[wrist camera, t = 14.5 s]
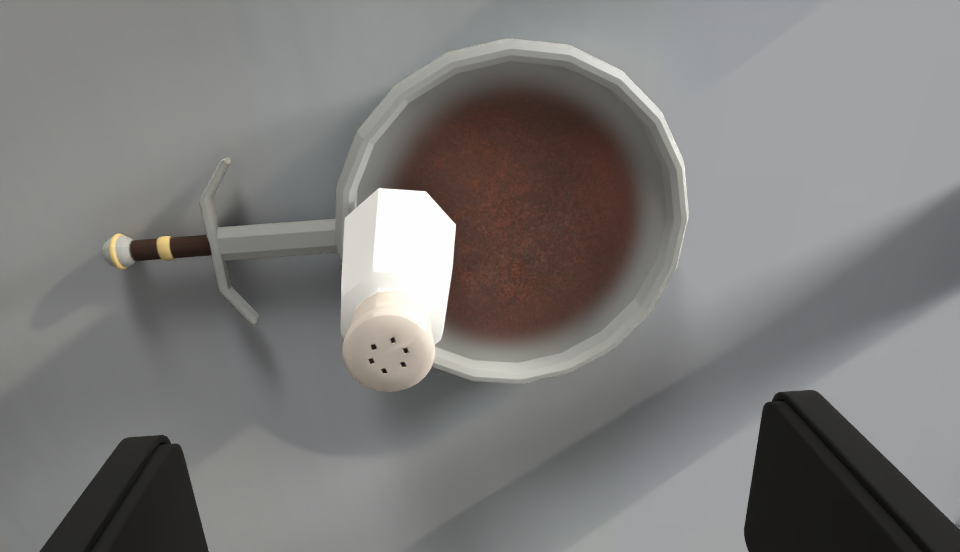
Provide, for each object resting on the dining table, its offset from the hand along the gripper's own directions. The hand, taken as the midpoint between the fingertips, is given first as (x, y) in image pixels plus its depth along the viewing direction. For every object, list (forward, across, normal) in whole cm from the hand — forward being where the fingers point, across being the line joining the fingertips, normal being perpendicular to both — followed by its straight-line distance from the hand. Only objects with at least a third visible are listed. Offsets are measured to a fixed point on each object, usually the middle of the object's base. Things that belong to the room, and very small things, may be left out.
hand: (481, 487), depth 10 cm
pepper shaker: (+20, +2, +2) cm, 20 cm away
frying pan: (+23, +2, +2) cm, 23 cm away
